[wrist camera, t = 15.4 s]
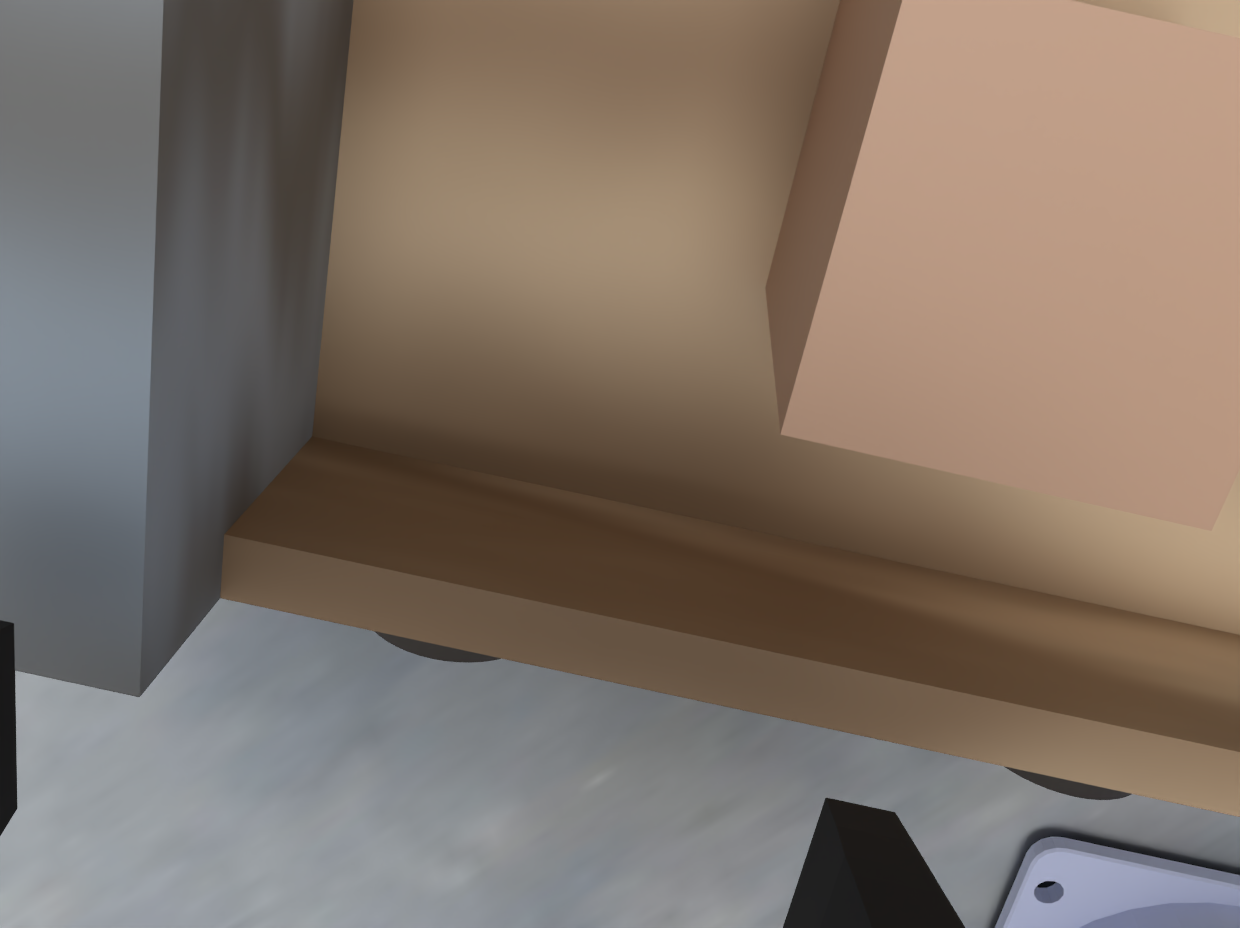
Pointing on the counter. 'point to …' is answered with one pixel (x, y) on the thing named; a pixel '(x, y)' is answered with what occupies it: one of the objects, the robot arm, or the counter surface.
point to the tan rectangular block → (1020, 252)
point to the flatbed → (526, 386)
